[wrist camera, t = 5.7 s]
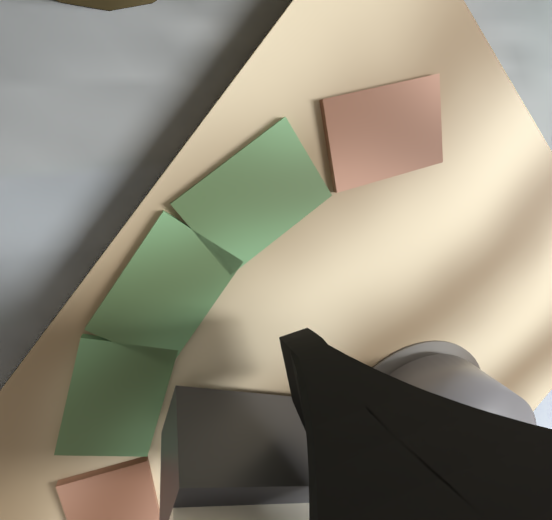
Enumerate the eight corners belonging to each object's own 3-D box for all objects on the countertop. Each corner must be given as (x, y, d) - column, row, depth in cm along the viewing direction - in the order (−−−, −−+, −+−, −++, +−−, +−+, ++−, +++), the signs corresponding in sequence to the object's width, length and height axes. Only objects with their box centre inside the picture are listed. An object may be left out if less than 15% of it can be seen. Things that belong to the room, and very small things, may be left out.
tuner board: (606, 283, 16) (639, 293, 14) (338, 603, 16) (350, 635, 15) (364, -96, 8) (395, -135, 7) (-96, 518, 9) (-132, 567, 8)
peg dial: (508, 364, 13) (617, 431, 10) (444, 490, 14) (523, 586, 11) (198, 308, 8) (216, 397, 5) (141, 498, 10) (129, 663, 6)
